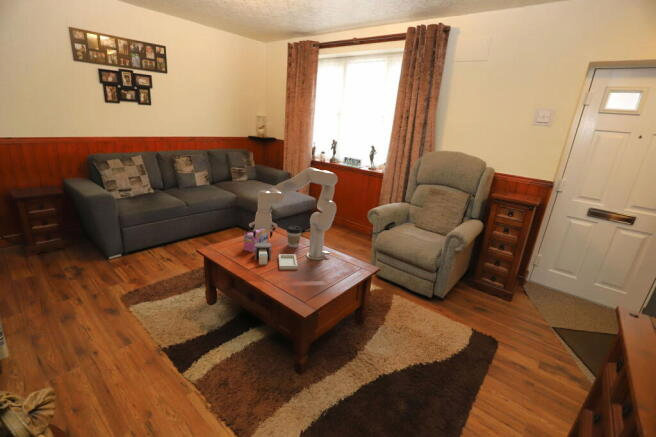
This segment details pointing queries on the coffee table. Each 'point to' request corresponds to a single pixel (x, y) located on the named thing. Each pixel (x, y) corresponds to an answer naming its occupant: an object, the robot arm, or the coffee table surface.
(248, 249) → the gum box
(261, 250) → the teal-tabbed cream block
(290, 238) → the coffee cup
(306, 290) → the coffee table surface
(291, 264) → the tray
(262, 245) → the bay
